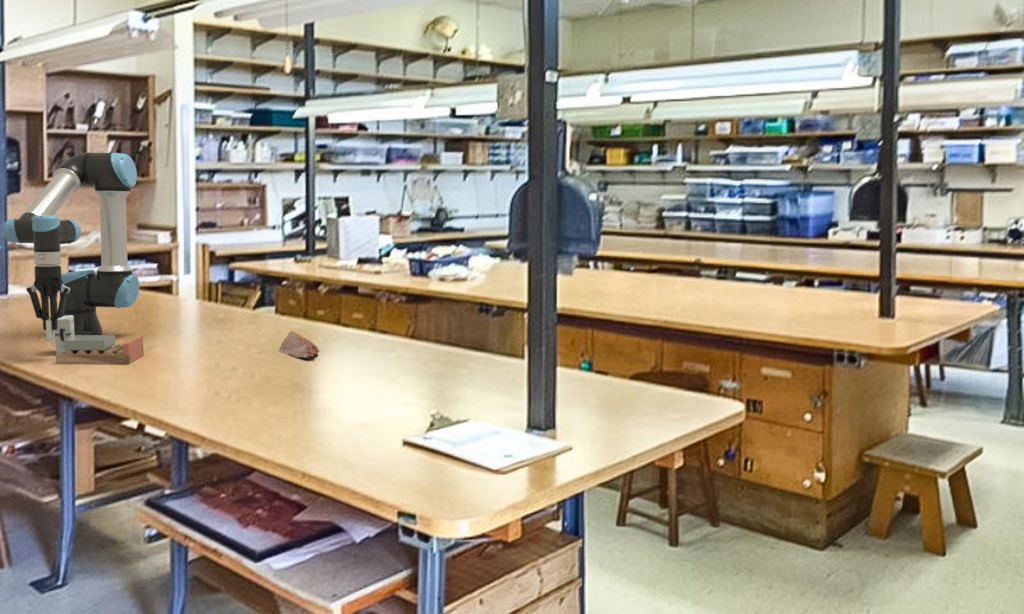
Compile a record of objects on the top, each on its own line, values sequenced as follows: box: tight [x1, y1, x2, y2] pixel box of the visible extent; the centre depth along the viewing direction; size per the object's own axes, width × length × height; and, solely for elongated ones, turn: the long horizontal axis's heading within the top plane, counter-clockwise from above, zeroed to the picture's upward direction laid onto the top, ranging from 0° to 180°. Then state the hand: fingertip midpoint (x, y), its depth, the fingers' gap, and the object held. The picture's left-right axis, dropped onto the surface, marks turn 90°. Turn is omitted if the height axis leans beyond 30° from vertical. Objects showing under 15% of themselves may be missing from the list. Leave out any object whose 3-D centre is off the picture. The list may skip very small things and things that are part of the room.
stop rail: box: [122, 335, 144, 365], centre depth 313 cm, size 14×2×6 cm, turn 3°
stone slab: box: [64, 334, 117, 350], centre depth 312 cm, size 10×12×3 cm
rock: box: [278, 331, 320, 359], centre depth 328 cm, size 10×24×10 cm
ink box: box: [55, 315, 75, 354], centre depth 322 cm, size 8×5×12 cm, turn 17°
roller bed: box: [55, 343, 145, 365], centre depth 313 cm, size 14×22×4 cm, turn 93°
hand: (50, 340), depth 311 cm, fingers closed
